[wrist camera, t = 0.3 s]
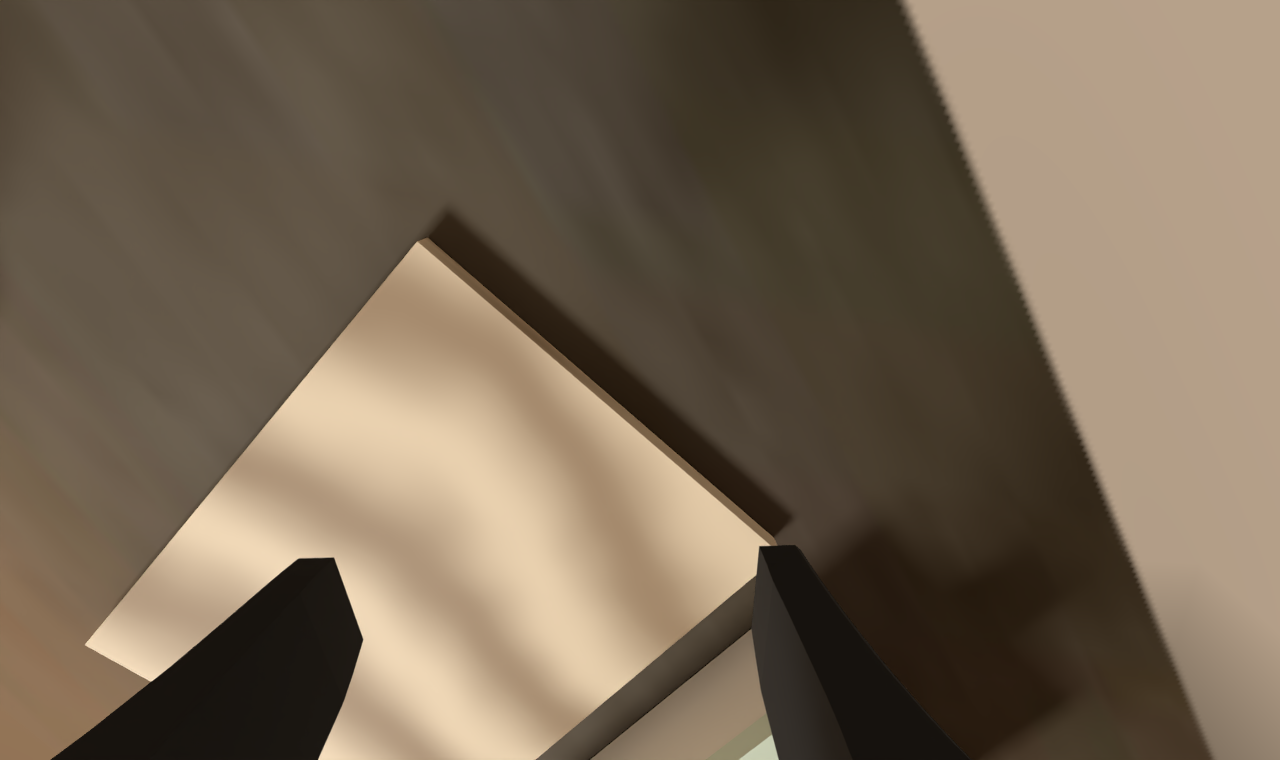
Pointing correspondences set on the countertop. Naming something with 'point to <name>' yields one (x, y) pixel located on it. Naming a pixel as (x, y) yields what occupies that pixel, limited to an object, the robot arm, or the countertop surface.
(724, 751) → the lid
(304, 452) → the board
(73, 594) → the countertop surface
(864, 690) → the robot arm
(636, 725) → the tub
